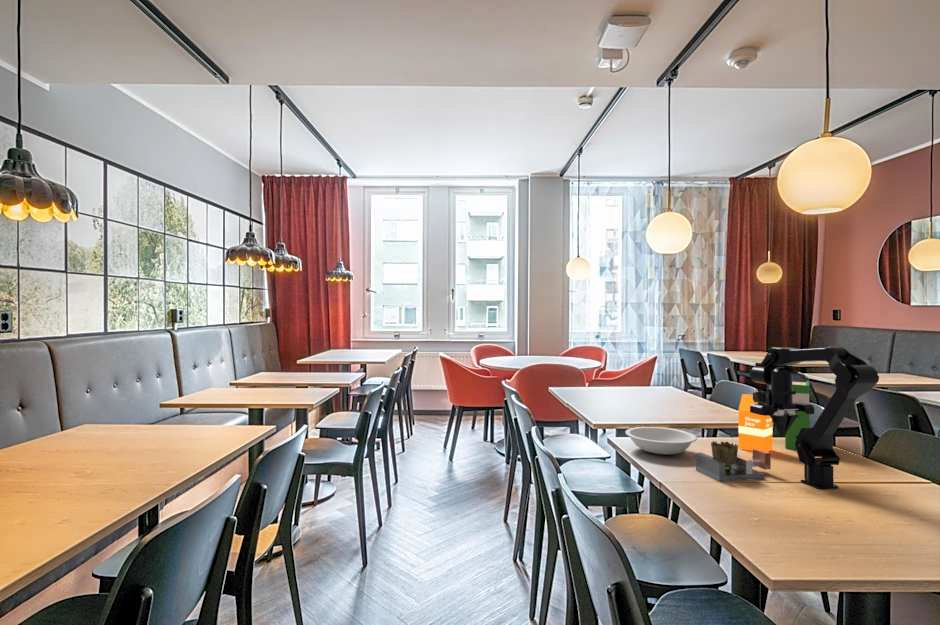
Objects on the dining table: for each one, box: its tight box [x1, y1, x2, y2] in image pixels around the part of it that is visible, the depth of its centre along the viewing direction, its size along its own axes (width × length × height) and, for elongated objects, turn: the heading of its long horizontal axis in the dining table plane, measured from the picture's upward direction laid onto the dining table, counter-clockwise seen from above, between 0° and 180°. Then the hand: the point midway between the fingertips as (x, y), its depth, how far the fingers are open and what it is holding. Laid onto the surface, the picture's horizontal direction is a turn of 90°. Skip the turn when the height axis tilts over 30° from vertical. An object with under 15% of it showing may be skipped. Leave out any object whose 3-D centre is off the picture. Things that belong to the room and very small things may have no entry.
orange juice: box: [738, 393, 773, 453], centre depth 177 cm, size 8×9×20 cm
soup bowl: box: [624, 426, 698, 455], centre depth 173 cm, size 24×24×7 cm
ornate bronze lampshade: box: [710, 440, 739, 471], centre depth 148 cm, size 8×7×8 cm
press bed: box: [695, 452, 765, 482], centre depth 148 cm, size 11×15×6 cm
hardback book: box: [784, 380, 811, 451], centre depth 183 cm, size 18×7×24 cm, turn 145°
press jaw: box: [731, 449, 772, 474], centre depth 149 cm, size 11×11×5 cm
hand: (782, 436), depth 151 cm, fingers closed
